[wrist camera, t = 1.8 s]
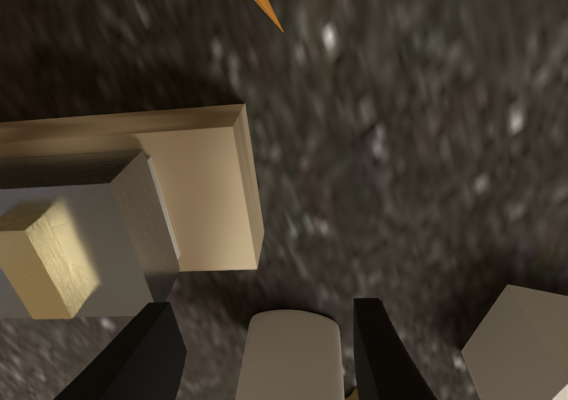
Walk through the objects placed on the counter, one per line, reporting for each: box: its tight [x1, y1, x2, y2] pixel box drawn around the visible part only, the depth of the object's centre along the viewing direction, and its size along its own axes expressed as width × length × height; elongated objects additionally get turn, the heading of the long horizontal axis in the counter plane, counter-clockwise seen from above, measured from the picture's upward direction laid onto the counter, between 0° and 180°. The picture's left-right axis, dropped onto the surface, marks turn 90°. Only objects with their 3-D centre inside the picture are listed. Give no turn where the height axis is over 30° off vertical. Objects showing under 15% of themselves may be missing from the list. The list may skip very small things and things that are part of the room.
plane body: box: [0, 104, 264, 271], centre depth 18 cm, size 20×7×3 cm, turn 95°
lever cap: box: [0, 149, 180, 319], centre depth 15 cm, size 7×6×4 cm
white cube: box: [461, 284, 568, 400], centre depth 20 cm, size 6×6×6 cm
